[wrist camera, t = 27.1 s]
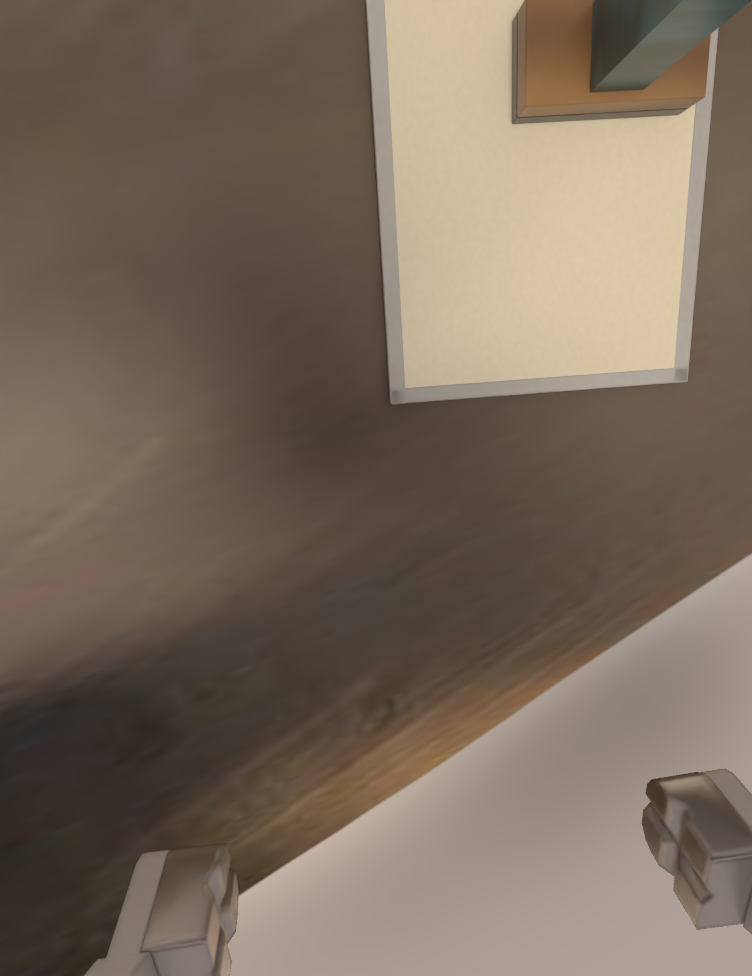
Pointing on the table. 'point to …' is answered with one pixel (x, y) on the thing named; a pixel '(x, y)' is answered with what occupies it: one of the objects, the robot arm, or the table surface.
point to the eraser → (611, 57)
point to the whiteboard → (523, 219)
